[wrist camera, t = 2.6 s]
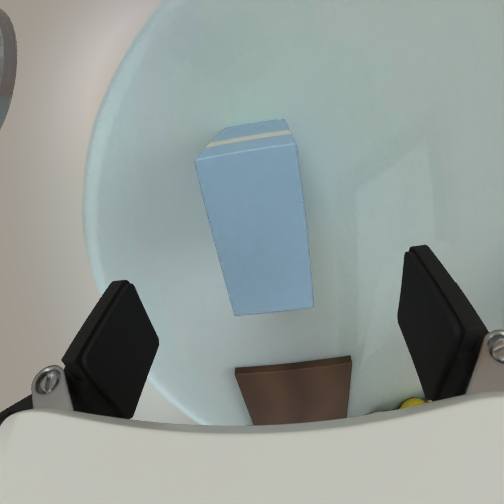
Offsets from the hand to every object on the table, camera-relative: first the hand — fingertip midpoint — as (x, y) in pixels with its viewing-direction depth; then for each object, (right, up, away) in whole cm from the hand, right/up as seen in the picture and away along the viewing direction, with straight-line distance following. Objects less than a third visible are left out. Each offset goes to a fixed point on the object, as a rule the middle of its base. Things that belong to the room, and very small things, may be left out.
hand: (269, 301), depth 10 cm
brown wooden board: (+5, -17, +24) cm, 30 cm away
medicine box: (0, +7, +11) cm, 13 cm away
